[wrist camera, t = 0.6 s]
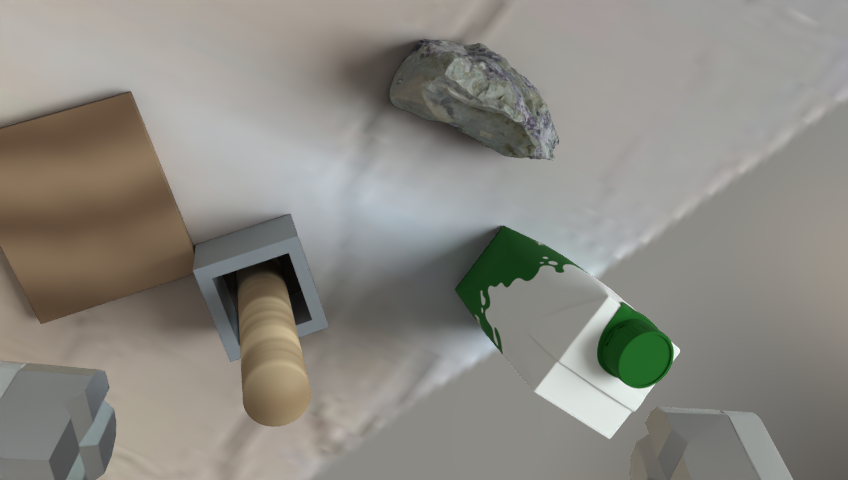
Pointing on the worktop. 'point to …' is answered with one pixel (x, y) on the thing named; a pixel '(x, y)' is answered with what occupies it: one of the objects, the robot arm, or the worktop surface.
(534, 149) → the mineral rock
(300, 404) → the dowel
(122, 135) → the tray
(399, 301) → the worktop surface
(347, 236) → the worktop surface
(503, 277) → the milk carton
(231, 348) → the open box
